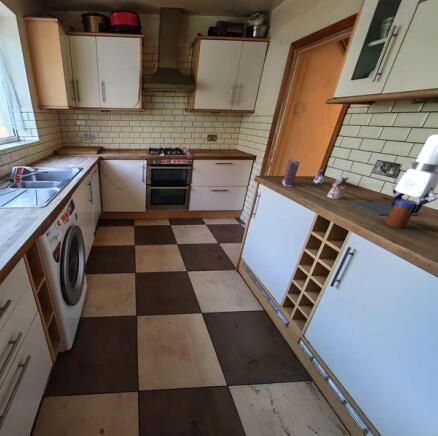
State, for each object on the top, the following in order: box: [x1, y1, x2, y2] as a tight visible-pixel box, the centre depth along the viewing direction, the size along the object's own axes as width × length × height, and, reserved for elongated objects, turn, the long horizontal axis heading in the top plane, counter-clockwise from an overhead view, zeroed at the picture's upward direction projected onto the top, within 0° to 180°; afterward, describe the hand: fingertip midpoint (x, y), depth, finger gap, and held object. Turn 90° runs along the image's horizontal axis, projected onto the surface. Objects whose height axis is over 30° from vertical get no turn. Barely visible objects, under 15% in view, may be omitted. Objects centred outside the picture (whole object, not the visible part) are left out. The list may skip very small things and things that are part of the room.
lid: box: [395, 198, 416, 208], centre depth 96 cm, size 7×7×2 cm
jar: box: [384, 204, 413, 229], centre depth 98 cm, size 6×6×10 cm
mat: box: [351, 201, 419, 217], centre depth 117 cm, size 20×16×1 cm
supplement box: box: [281, 159, 300, 188], centre depth 149 cm, size 9×5×16 cm, turn 161°
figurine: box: [327, 176, 349, 200], centre depth 129 cm, size 7×7×12 cm
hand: (403, 208), depth 97 cm, fingers closed on lid, 6 cm apart
